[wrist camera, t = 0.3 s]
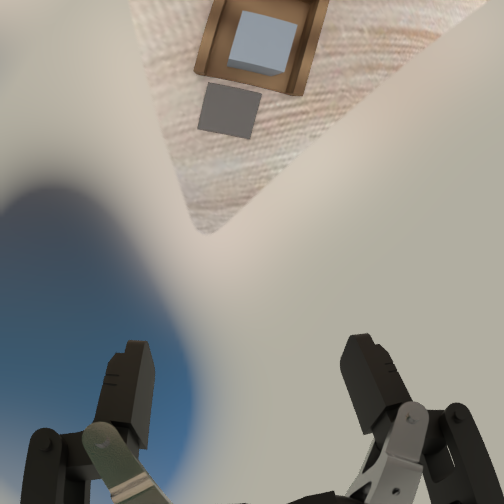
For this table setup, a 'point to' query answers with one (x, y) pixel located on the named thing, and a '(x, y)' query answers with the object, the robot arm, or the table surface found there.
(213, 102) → the coaster
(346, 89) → the table surface
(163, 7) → the table surface
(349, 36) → the table surface
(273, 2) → the crate
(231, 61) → the block
